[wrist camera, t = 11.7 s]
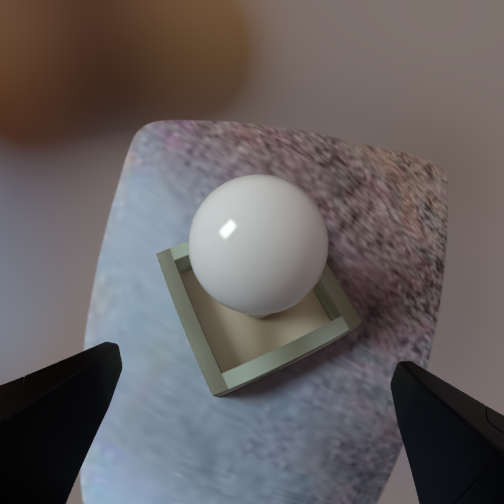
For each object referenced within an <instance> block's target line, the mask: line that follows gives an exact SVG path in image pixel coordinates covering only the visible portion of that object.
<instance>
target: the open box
mask: <svg viewBox="0 0 504 504" xmlns="http://www.w3.org/2000/svg"><path fill="white" fill-rule="evenodd" d="M156 255H157V258H158V261H159V263H160V266H161V269H162V272H163V275H164V278H165V280H166V283H167V286H168V289H169V292H170V294H171V297H172V300H173V302H174V305H175V308H176V310H177V313H178V315H179V318H180V320H181V323H182V326H183V328H184V331H185V333H186V336H187V338H188V340H189V343H190V345H191V348H192V350H193V352H194V355H195V357H196V360H197V362H198V364H199V367H200V369H201V371H202V373H203V376H204V378H205V380H206V382H207V385H208V387H209V389H210V391H211V393H212V396H215V397H220V396H223V395H225V394H227V393H230V392H232V391H234V390H237V389H239V388H241V387H244V386H246V385H248V384H250V383H253V382H255V381H257V380H259V379H262V378H264V377H266V376H268V375H270V374H272V373H274V372H276V371H279V370H281V369H283V368H285V367H287V366H289V365H291V364H293V363H295V362H297V361H299V360H301V359H303V358H305V357H307V356H309V355H311V354H313V353H314V352H316V351H318V350H320V349H322V348H324V347H326V346H328V345H329V344H331V343H333V342H335V341H337V340H339V339H340V338H342V337H344V336H346V335H347V334H349V333H350V332H351V331H353V330H354V329H355V328H356V327H357V326H358V325H360V324H361V323H362V321H361V319H360V317H359V316H358V314H357V312H356V310H355V309H354V307H353V305H352V304H351V302H350V300H349V299H348V297H347V295H346V294H345V292H344V290H343V289H342V287H341V285H340V284H339V282H338V281H337V279H336V277H335V276H334V274H333V272H332V271H331V269H330V268H329V266H328V264H327V263H326V265H325V268H324V271H323V273H322V275H321V277H320V279H319V281H318V282H317V284H316V285H315V287H314V288H313V289H312V290H311V292H310V293H309V294H308V295H307V296H306V297H305V298H303V299H302V300H301V301H300V302H298V303H297V304H295V305H293V306H292V307H290V308H287V309H285V310H283V311H280V312H276V313H272V314H269V315H267V316H265V317H262V318H252V317H249V316H247V315H245V314H244V313H240V312H237V311H234V310H231V309H229V308H227V307H225V306H223V305H222V304H220V303H219V302H217V301H216V300H214V299H213V298H212V297H211V296H210V295H209V294H208V293H207V292H206V291H205V290H204V289H203V287H202V286H201V285H200V283H199V281H198V280H197V278H196V276H195V274H194V272H193V269H192V266H191V263H190V259H189V252H188V241H187V242H184V243H182V244H179V245H177V246H174V247H172V248H170V249H167V250H165V251H162V252H160V253H157V254H156Z"/></svg>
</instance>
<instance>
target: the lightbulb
mask: <svg viewBox="0 0 504 504" xmlns="http://www.w3.org/2000/svg"><path fill="white" fill-rule="evenodd" d="M328 247H329V241H328V232H327V228H326V224H325V221H324V218H323V216H322V214H321V212H320V210H319V208H318V206H317V205H316V204H315V202H314V201H313V200H312V198H311V197H310V196H309V195H308V194H307V193H306V192H305V191H303V190H302V189H301V188H300V187H298V186H297V185H295V184H293V183H292V182H290V181H288V180H285V179H283V178H280V177H276V176H272V175H266V174H251V175H244V176H240V177H237V178H234V179H231V180H229V181H227V182H225V183H223V184H221V185H220V186H218V187H217V188H216V189H214V190H213V191H212V192H211V193H210V194H209V195H208V196H207V197H206V198H205V199H204V200H203V202H202V203H201V204H200V206H199V207H198V209H197V211H196V213H195V215H194V217H193V220H192V223H191V226H190V230H189V236H188V252H189V259H190V263H191V266H192V269H193V272H194V274H195V276H196V278H197V280H198V281H199V283H200V285H201V286H202V287H203V289H204V290H205V291H206V292H207V293H208V294H209V295H210V296H211V297H212V298H213V299H214V300H216V301H217V302H219V303H220V304H222V305H223V306H225V307H227V308H229V309H231V310H234V311H237V312H240V313H244V314H245V315H247V316H249V317H252V318H262V317H265V316H267V315H269V314H272V313H276V312H280V311H283V310H285V309H287V308H290V307H292V306H293V305H295V304H297V303H298V302H300V301H301V300H302V299H303V298H305V297H306V296H307V295H308V294H309V293H310V292H311V290H312V289H313V288H314V287H315V285H316V284H317V282H318V281H319V279H320V277H321V275H322V273H323V271H324V268H325V265H326V261H327V257H328Z"/></svg>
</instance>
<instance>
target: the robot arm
mask: <svg viewBox="0 0 504 504" xmlns="http://www.w3.org/2000/svg"><path fill="white" fill-rule="evenodd" d="M121 371H122V361H121V356H120V351H119V347H118V345H117V344H116V343H111V342H104V343H102V344H99V345H97V346H95V347H92V348H90V349H88V350H85V351H83V352H81V353H79V354H76V355H74V356H71V357H69V358H67V359H65V360H62V361H60V362H57V363H55V364H52V365H50V366H48V367H45V368H43V369H40V370H38V371H36V372H33V373H31V374H28V375H26V376H25V377H21V378H19V379H16V380H14V381H11V382H8V383H6V384H3V385H0V504H66V502H67V499H68V496H69V494H70V492H71V490H72V487H73V484H74V482H75V480H76V478H77V475H78V473H79V471H80V468H81V466H82V464H83V462H84V459H85V457H86V455H87V453H88V450H89V448H90V446H91V444H92V442H93V440H94V437H95V435H96V433H97V431H98V429H99V427H100V424H101V422H102V420H103V418H104V416H105V414H106V412H107V410H108V407H109V405H110V402H111V400H112V397H113V394H114V391H115V388H116V385H117V382H118V379H119V377H120V374H121ZM391 391H392V396H393V401H394V406H395V411H396V417H397V422H398V426H399V430H400V433H401V436H402V440H403V443H404V446H405V450H406V453H407V457H408V460H409V464H410V468H411V471H412V475H413V479H414V483H415V486H416V491H417V495H418V499H419V503H420V504H504V416H503V415H501V414H500V413H498V412H496V411H494V410H493V409H491V408H489V407H487V406H485V405H484V404H482V403H480V402H479V401H477V400H475V399H474V398H472V397H470V396H469V395H467V394H465V393H464V392H462V391H460V390H458V389H457V388H455V387H453V386H452V385H450V384H448V383H447V382H445V381H443V380H441V379H440V378H438V377H437V376H435V375H433V374H431V373H430V372H428V371H426V370H425V369H423V368H421V367H420V366H418V365H416V364H415V363H413V362H411V361H401V362H399V363H398V364H397V366H396V369H395V372H394V375H393V378H392V381H391Z"/></svg>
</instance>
